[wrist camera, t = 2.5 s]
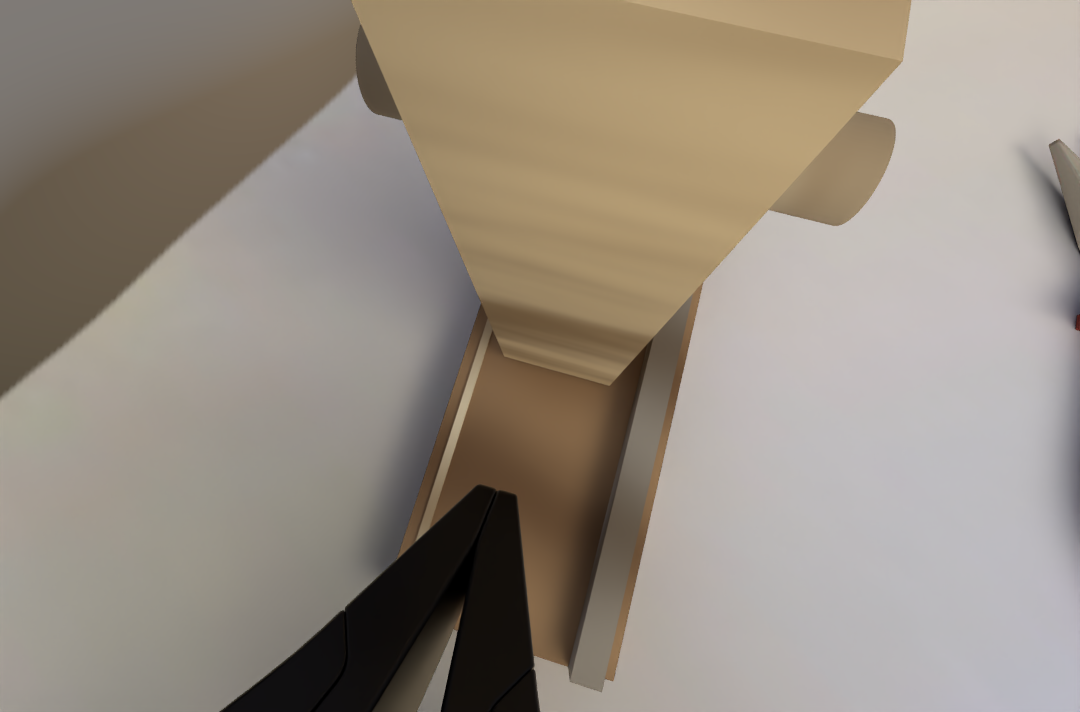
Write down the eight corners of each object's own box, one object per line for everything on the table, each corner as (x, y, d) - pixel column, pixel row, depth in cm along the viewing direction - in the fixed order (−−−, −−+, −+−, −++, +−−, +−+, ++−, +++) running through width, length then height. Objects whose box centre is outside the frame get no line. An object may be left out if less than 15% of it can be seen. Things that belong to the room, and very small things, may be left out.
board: (607, 661, 16) (617, 697, 14) (395, 592, 17) (370, 615, 14) (721, 164, 20) (745, 124, 18) (548, 123, 21) (548, 79, 18)
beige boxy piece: (663, 400, 16) (1505, 8, 2) (453, 342, 17) (-73, -291, 3) (692, 275, 17) (1393, -591, 3) (492, 224, 18) (274, -711, 4)
